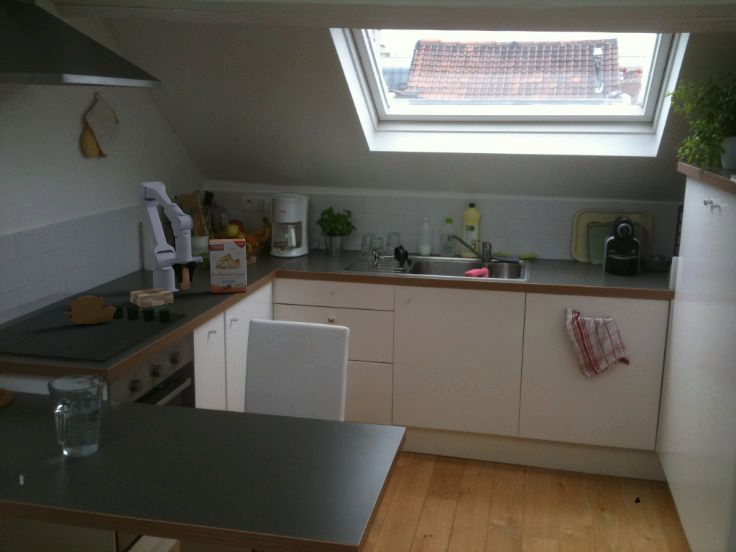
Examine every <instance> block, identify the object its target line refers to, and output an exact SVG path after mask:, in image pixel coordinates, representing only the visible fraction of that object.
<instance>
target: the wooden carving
mask: <svg viewBox="0 0 736 552" xmlns="http://www.w3.org/2000/svg"><path fill="white" fill-rule="evenodd" d="M70 306H71V308H70V309H64V310H63V315H65V316H69V318H68V320H69V322H71V323H75V324H77V325H81V324H94V325H96V324H99V323H101V322H103V321H104V322H112V321H113V320H114V316H115V313H116V312H117V308H116V306H114V305H112V304H111V305H110V304H108V305H107V304H106V305H105V300H104V298H103V295H102V296H97V295H94V294H93V295H92V294H88V295H81V296H78V297H77V298H72V299H71V301H70Z"/></svg>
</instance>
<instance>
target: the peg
mask: <svg viewBox="0 0 736 552" xmlns="http://www.w3.org/2000/svg"><path fill="white" fill-rule="evenodd" d="M190 284H191V282H190V277H189V268H187V267H183V268H182V283H180V290H184V291H185V290H186V291H187V290H191V285H190Z"/></svg>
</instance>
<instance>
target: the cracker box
mask: <svg viewBox="0 0 736 552" xmlns="http://www.w3.org/2000/svg"><path fill="white" fill-rule="evenodd" d="M208 244H209V264H210V266H209V267H210V271H209V272H210V292H211V294H222V293H223V294H229V293H247V292H248V291H247V290H248V286H247V284H248V280H247V277H248V276H247V253H246V252H247V251H246V250H247V249H246V248H247V247H246V239H245V238H229V239H228V238H226V239H225V238H224V239H223V238H220V239H217V238H214V239H209V243H208Z"/></svg>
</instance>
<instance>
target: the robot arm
mask: <svg viewBox="0 0 736 552" xmlns="http://www.w3.org/2000/svg"><path fill="white" fill-rule="evenodd" d="M135 195H136V197H137V200H138V204H139V206H141V207H142V211H143V214H144V217H145V218H144V219H145V221H146V224H147V227H148V228H147V229H148V231H149V235H150V239H151V242H152V245H153V248H151V249H150V251H149V252H148V255H149V264H150V267H151V268H152V269H153V273H152V287H153V288H160V287H161V288H163V289H166V290H168V291H170V292H173V293H175V292H179V291H180V289H178V288H176V282H175V281H176V279H175V275H176V278H177V283H179V284H181V283H182V268H184V267H183V266H182V265H186V268H189V277H190V283H193V277H194V274H195V271H196V269H197V267H198V263H203V262H204V259H203V258H204V257H203V256H201V255H200V256H192V240H191V239H192V238H191V230H192V229H193V227H194V221H193V218H192V216H191V215H190V214H186V213H184V212H183V210H182V209H181V208H180V207H179V206H178V204H177V203H175V202H172V201H171V199H170V198H169V196H168V195H167V192H166V185H165V184H164V183H163V181H160V180H159V181H148V182H147V181H145V182H143V181H142V182H140V181H139V182H138V183H137V185H136V188H135ZM158 205H161V206H162V207H163V213H164V214H165V215H166V217H167V219H168V220H169V221H170V222H171V229H172V230H173V231H172V233H173V236H174V237H175V239H174V240H175V243H174V244H175V247H173V246H171V244H168V242H167V239H166V236H165V232H164V229H163V226H162V223H161V220H160V216H159V212H158V209H157V206H158Z"/></svg>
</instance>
